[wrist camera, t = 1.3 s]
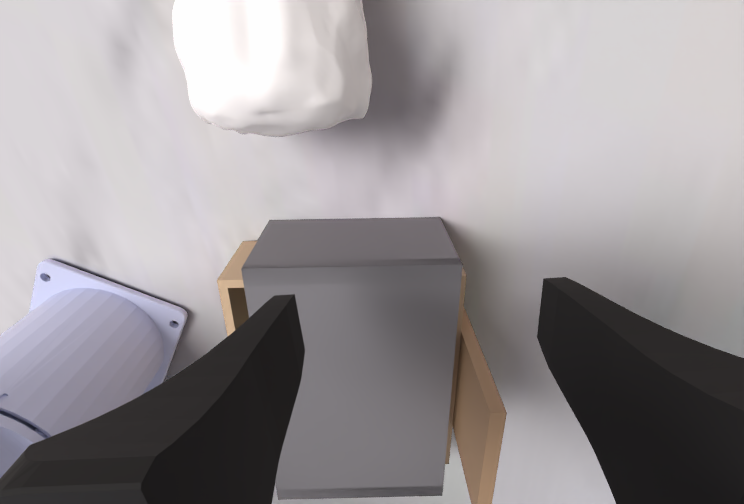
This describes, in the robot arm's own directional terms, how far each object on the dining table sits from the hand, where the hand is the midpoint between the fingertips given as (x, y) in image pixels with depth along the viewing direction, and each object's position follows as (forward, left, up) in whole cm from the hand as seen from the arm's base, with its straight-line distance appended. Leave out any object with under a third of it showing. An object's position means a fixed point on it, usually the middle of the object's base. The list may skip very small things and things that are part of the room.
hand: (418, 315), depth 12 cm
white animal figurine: (+7, +9, -11) cm, 16 cm away
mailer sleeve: (-8, -2, -11) cm, 13 cm away
